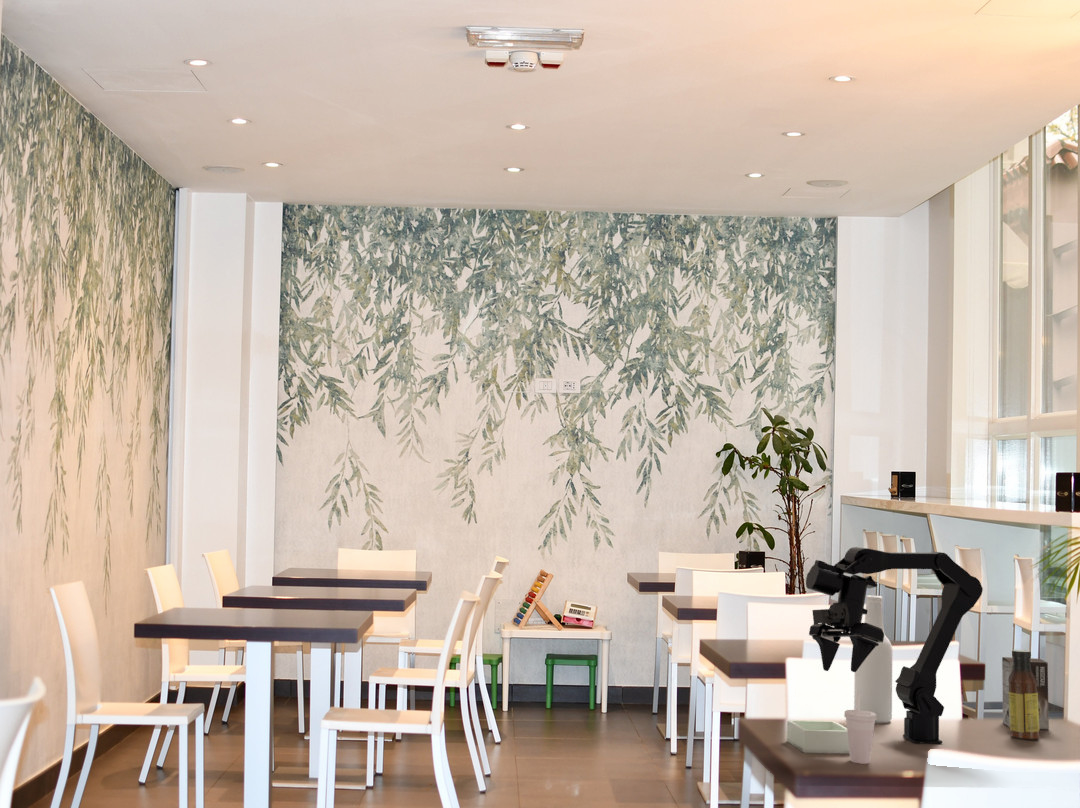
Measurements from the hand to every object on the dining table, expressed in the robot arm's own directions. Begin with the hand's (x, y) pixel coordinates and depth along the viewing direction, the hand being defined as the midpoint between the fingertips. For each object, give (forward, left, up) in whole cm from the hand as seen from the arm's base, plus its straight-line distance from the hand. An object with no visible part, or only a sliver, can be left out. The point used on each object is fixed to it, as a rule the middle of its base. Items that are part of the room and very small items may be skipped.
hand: (839, 671), depth 235 cm
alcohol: (-19, -26, -16) cm, 36 cm away
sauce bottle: (-48, -9, -16) cm, 52 cm away
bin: (+6, +4, -16) cm, 17 cm away
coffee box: (-56, -22, -16) cm, 63 cm away
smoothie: (+2, +16, -16) cm, 22 cm away
